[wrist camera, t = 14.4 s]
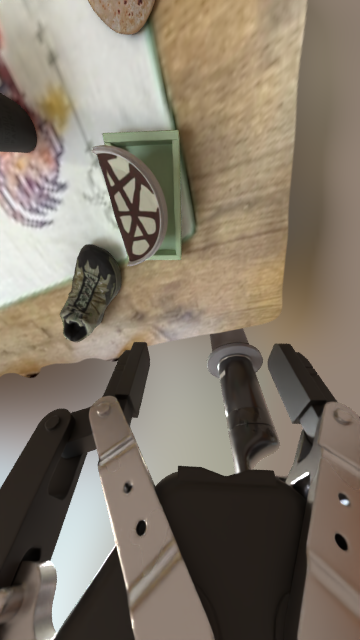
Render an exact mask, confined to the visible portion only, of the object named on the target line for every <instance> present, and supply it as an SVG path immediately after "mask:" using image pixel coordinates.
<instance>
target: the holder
mask: <svg viewBox="0 0 360 640" xmlns="http://www.w3.org/2000/svg"><path fill="white" fill-rule="evenodd" d="M102 135H103V140H104V142H105V143H104V144H105V145H107V146H115V147H118V148H121V149H124V150H126V151H128V152H130V153H131V154H133V155H135V156H136V157H137V158H138V159H140V160H141V161H142V162H143V163H144V164H145V165H146V166H147V167H148V168H149V169H150V170H151V172H152V173H153V175H154V176H155V178H156V179H157V181H158V183H159V185H160V187H161V189H162V192H163V194H164V197H165V201H166V206H167V214H168V223H167V230H166V235H165V237H164V240H163V242H162V244H161V246H160V248H159V249H158V250H157V251H156V253H155V254H154V255H152V256H151V257H150V258H149V259H147V260H181V254H182V244H181V184H180V136H179V131H178V130H165V131H142V132H119V133H103V134H102ZM126 252H127V251H126ZM127 255H128V254H127ZM127 257H128V256H127ZM128 260H129V258H128Z"/></svg>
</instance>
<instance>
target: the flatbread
mask: <svg viewBox="0 0 360 640" xmlns="http://www.w3.org/2000/svg"><path fill="white" fill-rule="evenodd" d="M88 1H89V3H90V5H91V7H92V8H93V10H94V11H95V13H96V14H97V15H98V16H99V17H100V18H101V20H102V21H103V22H104V23H105V24H106V25H107V26H109V27H110V28H111V29H112V30H114V31H115V32H117V33H121V34H134V33H137V32H138V31H139V30H140V29H141V28H142V27H143V26H144V24H145V23H146V21H147V19H148V17H149V15H150V13H151V10H152V7H153V5H154V2H155V0H88Z"/></svg>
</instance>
